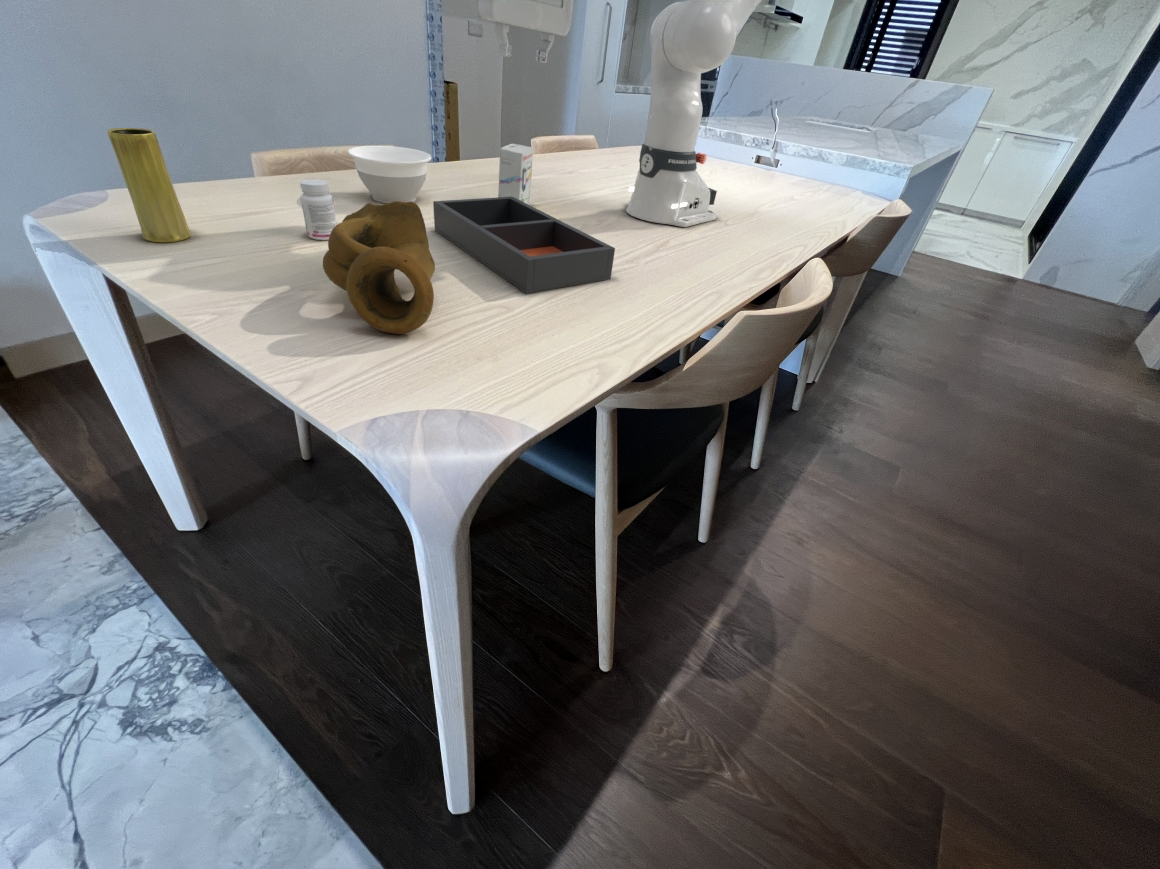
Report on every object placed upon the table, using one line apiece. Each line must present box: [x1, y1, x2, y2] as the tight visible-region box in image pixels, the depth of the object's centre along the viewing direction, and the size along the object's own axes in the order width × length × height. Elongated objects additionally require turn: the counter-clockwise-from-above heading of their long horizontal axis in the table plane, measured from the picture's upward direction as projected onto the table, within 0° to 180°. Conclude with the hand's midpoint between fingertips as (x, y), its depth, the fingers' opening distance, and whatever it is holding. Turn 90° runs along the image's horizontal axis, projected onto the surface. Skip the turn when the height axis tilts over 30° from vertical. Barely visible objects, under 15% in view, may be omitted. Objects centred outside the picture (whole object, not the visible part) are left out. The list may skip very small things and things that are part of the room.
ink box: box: [497, 143, 534, 205], centre depth 113 cm, size 9×5×12 cm, turn 168°
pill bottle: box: [299, 178, 338, 241], centre depth 86 cm, size 5×5×8 cm
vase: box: [106, 127, 192, 243], centre depth 77 cm, size 6×6×14 cm
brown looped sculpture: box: [322, 201, 436, 335], centre depth 69 cm, size 18×13×22 cm
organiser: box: [432, 196, 616, 295], centre depth 91 cm, size 16×32×5 cm, turn 37°
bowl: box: [347, 145, 432, 204], centre depth 109 cm, size 16×16×8 cm
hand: (523, 59), depth 98 cm, fingers open, 8 cm apart
